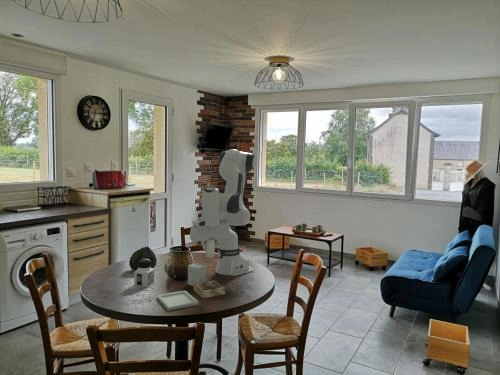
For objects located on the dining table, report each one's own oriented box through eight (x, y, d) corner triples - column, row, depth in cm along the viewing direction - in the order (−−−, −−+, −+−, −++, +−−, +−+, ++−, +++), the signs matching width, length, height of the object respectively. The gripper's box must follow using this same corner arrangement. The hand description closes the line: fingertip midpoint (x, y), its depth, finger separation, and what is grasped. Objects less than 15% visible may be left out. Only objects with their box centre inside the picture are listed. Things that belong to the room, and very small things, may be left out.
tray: (185, 293, 181) (185, 290, 181) (198, 305, 167) (198, 301, 167) (157, 298, 174) (157, 295, 174) (168, 310, 160) (168, 307, 160)
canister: (212, 255, 185) (212, 235, 184) (216, 257, 181) (216, 237, 180) (203, 256, 183) (203, 236, 182) (207, 258, 179) (207, 238, 178)
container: (147, 287, 188) (147, 262, 187) (133, 286, 189) (133, 261, 188) (154, 282, 195) (154, 258, 194) (141, 281, 197) (141, 257, 196)
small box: (206, 285, 194) (206, 265, 193) (199, 288, 189) (199, 267, 188) (194, 281, 198) (195, 262, 197) (187, 284, 194) (187, 265, 193)
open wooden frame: (214, 287, 191) (214, 280, 191) (224, 294, 181) (225, 287, 181) (193, 290, 185) (193, 283, 185) (203, 298, 175) (203, 291, 175)
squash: (124, 259, 218) (131, 243, 210) (148, 256, 228) (156, 241, 220) (130, 279, 211) (138, 264, 202) (155, 275, 220) (163, 261, 212)
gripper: (226, 218, 188) (225, 244, 190) (188, 221, 178) (188, 249, 179) (232, 220, 183) (231, 247, 184) (193, 223, 172) (193, 252, 174)
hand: (210, 248), depth 182 cm, fingers closed on canister, 4 cm apart
